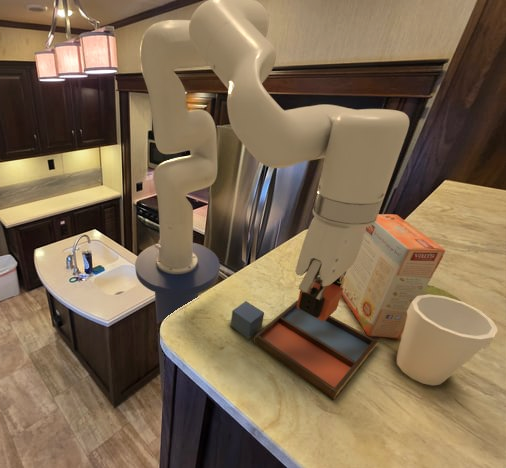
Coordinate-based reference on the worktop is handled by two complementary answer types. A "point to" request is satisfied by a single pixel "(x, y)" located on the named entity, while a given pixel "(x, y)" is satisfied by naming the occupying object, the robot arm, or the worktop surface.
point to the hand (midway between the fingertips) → (317, 304)
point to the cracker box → (389, 274)
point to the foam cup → (441, 337)
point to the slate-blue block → (247, 319)
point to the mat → (438, 292)
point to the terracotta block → (327, 300)
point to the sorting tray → (316, 348)
